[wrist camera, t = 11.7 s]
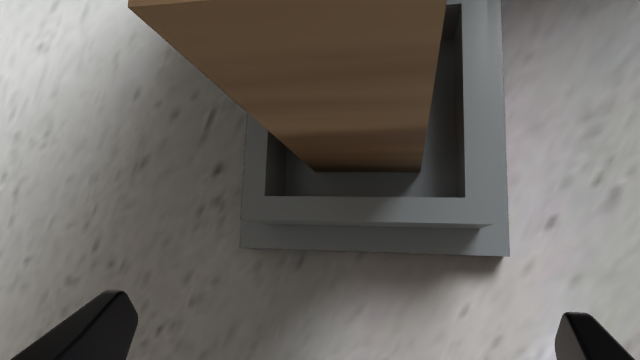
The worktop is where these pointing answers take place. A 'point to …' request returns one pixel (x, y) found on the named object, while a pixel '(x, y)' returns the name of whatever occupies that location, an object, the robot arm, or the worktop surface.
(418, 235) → the socket
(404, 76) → the peg
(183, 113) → the worktop surface
